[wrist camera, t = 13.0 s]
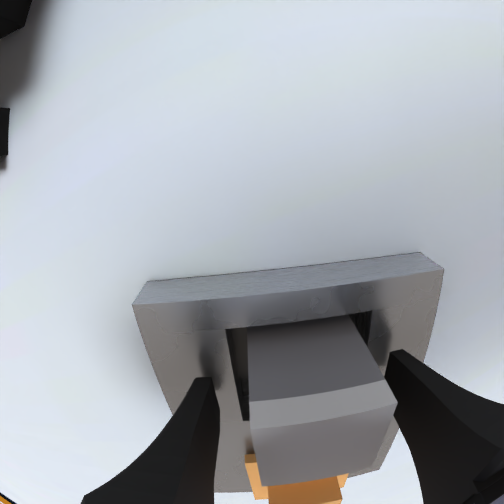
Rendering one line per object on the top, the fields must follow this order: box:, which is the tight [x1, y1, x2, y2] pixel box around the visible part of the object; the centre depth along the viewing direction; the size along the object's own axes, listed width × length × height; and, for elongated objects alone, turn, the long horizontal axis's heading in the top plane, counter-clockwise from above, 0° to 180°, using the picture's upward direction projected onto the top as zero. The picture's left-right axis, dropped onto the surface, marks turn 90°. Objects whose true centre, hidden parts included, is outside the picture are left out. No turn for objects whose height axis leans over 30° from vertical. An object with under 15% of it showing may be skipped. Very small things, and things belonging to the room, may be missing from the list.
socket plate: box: [132, 252, 444, 492], centre depth 13 cm, size 12×16×2 cm
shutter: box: [245, 454, 349, 504], centre depth 12 cm, size 6×6×3 cm
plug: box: [247, 314, 398, 487], centre depth 10 cm, size 4×4×6 cm
